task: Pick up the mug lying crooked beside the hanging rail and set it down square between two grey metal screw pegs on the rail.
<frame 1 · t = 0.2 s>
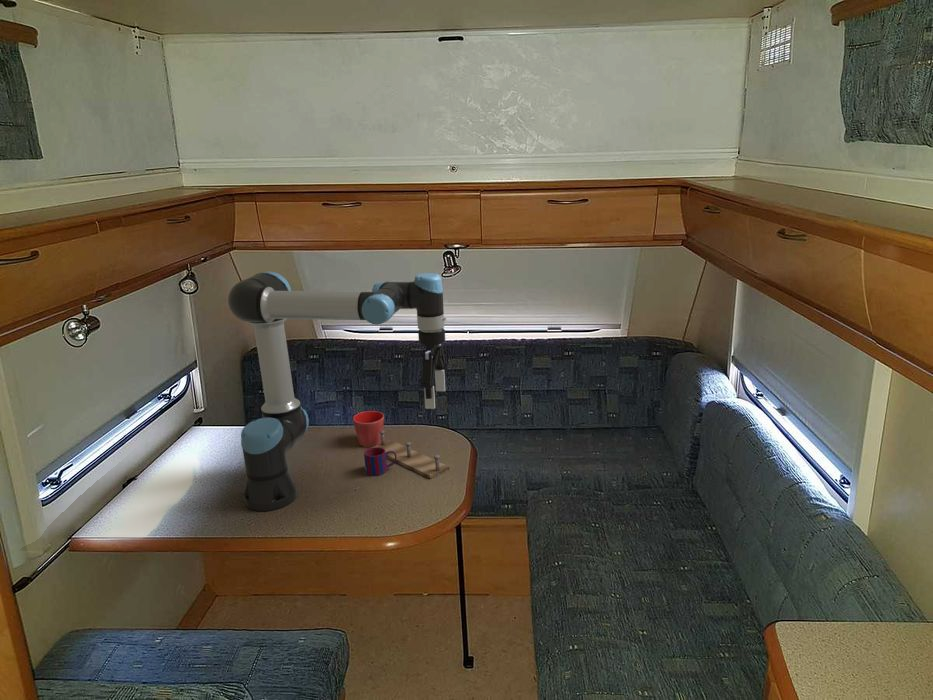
hand: (435, 399, 197), 27 cm above the table, fingers open, 13 cm apart
mug: (381, 471, 215), on the table
flower pot: (370, 442, 235), on the table
rail: (409, 460, 221), on the table
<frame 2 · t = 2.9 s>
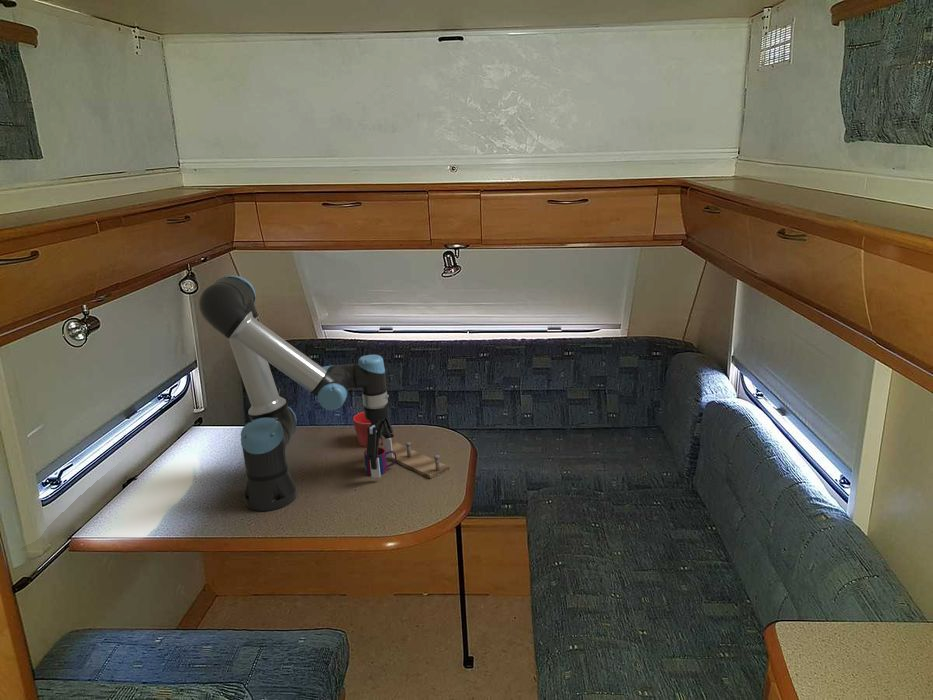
hand: (382, 467, 214), 1 cm above the table, fingers open, 13 cm apart
nothing on the table moved.
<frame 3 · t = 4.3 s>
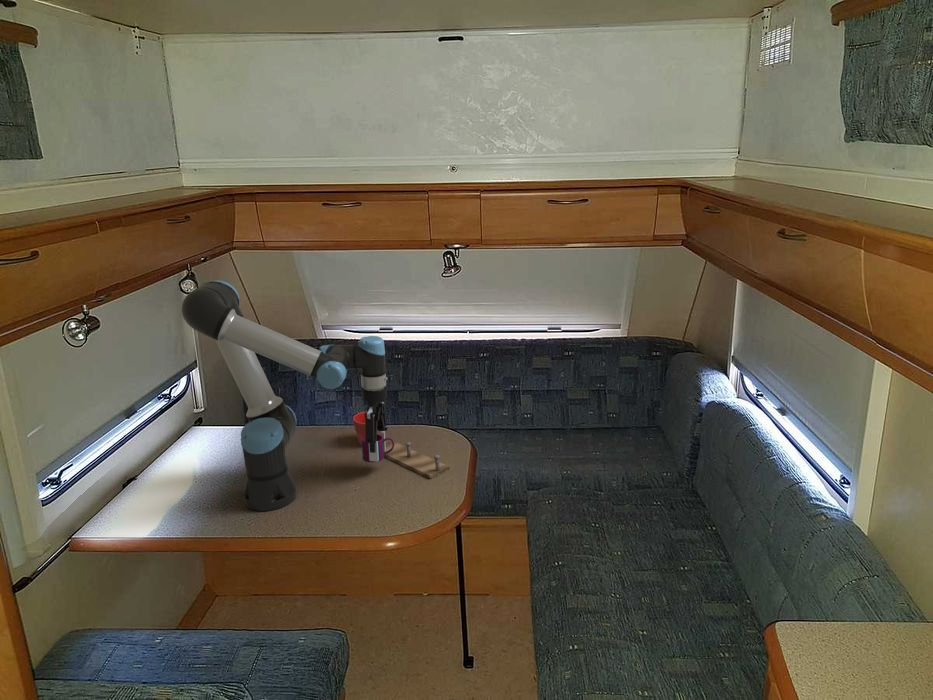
hand: (377, 455, 213), 5 cm above the table, fingers closed on mug, 7 cm apart
mug: (378, 458, 214), point 4 cm above the table, touching gripper
everything else where it was.
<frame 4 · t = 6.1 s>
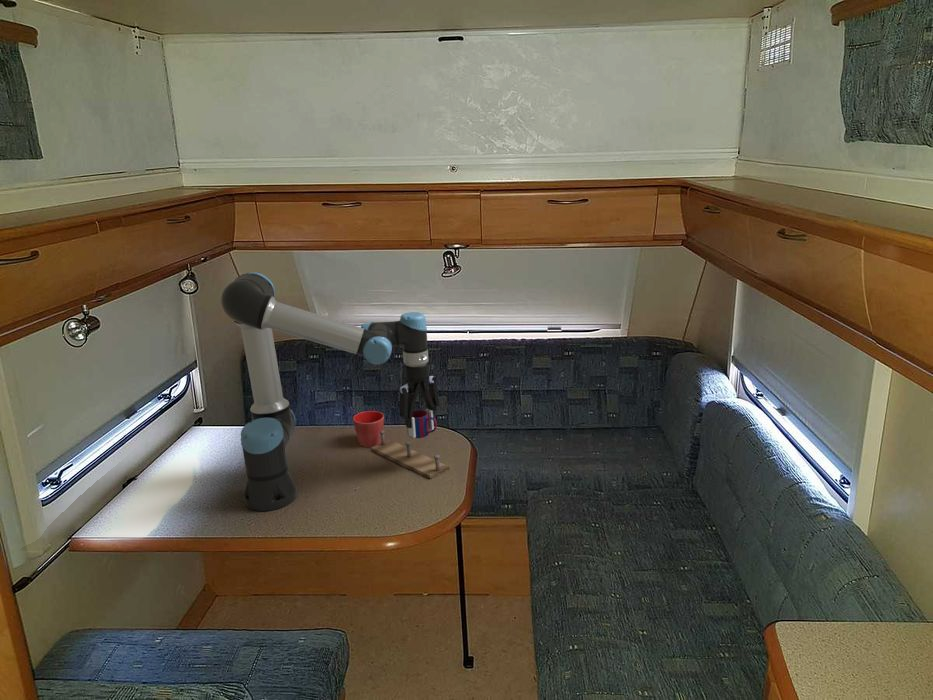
hand: (421, 432, 213), 12 cm above the table, fingers closed on mug, 7 cm apart
mug: (422, 435, 213), point 11 cm above the table, touching gripper
everything else where it was.
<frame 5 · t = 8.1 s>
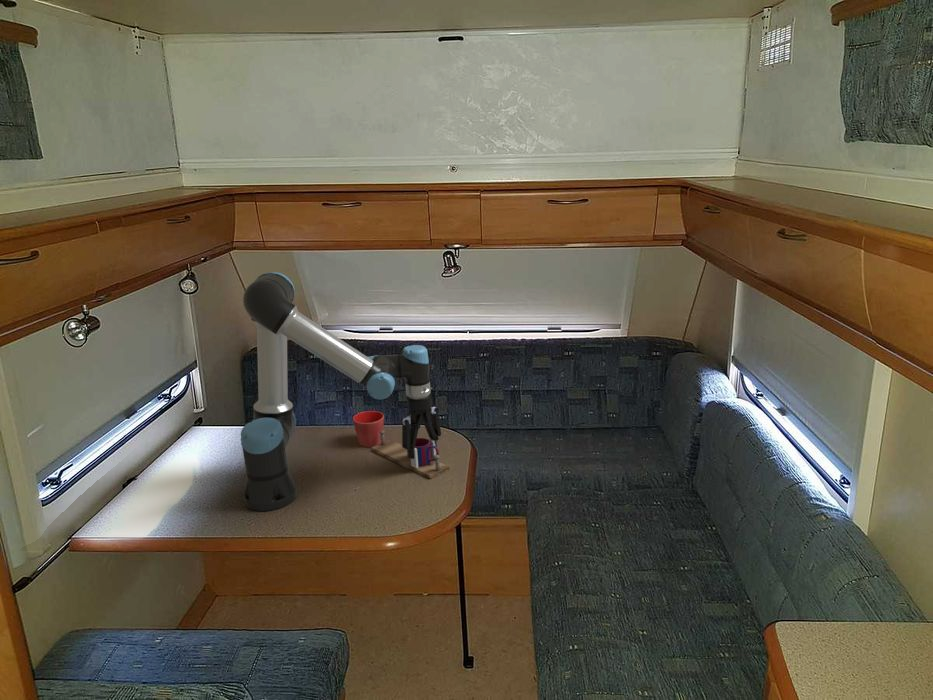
hand: (423, 462, 216), 1 cm above the table, fingers closed on mug, 7 cm apart
mug: (424, 463, 216), point 1 cm above the table, touching gripper, rail
everything else where it was.
when the fingers open (1 cm above the table, at t = 8.2 s): mug stays where it is, resting on rail.
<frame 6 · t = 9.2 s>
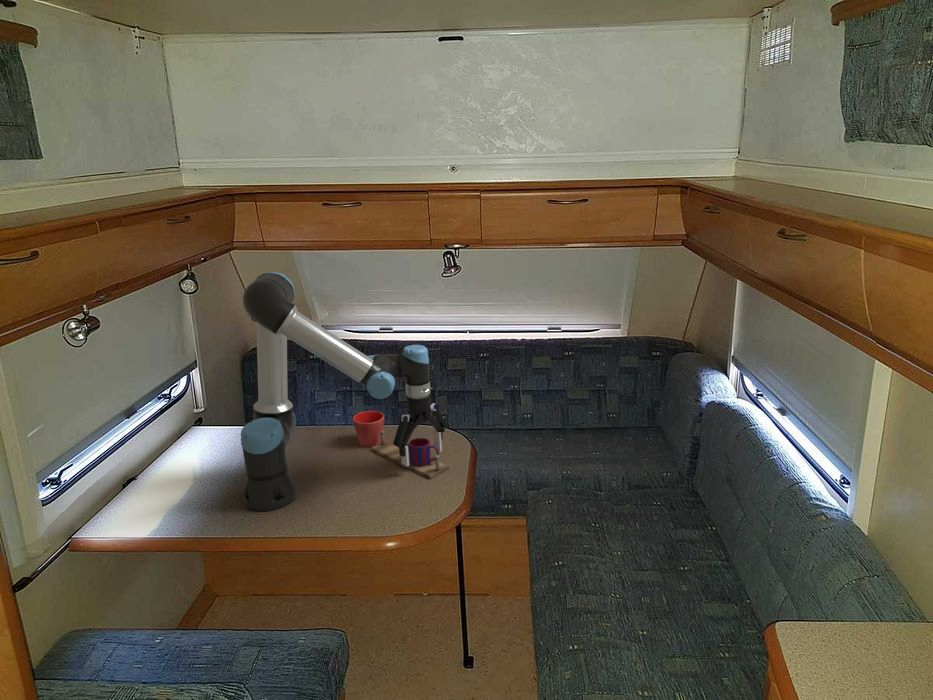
hand: (422, 457, 215), 3 cm above the table, fingers open, 13 cm apart
mug: (424, 463, 216), point 1 cm above the table, touching rail
everything else where it was.
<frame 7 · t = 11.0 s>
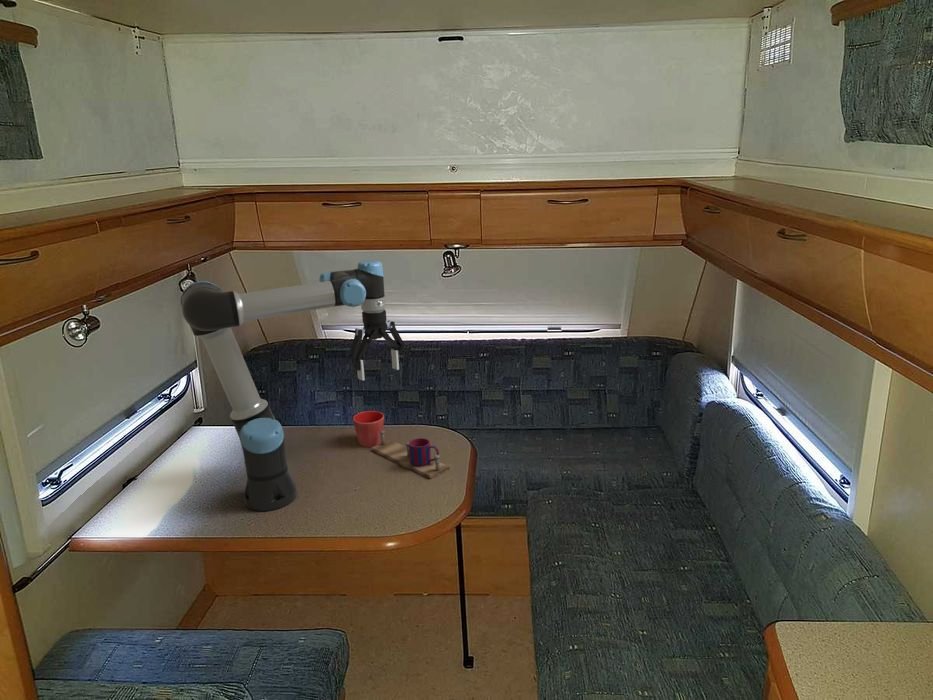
hand: (378, 374, 219), 28 cm above the table, fingers open, 13 cm apart
nothing on the table moved.
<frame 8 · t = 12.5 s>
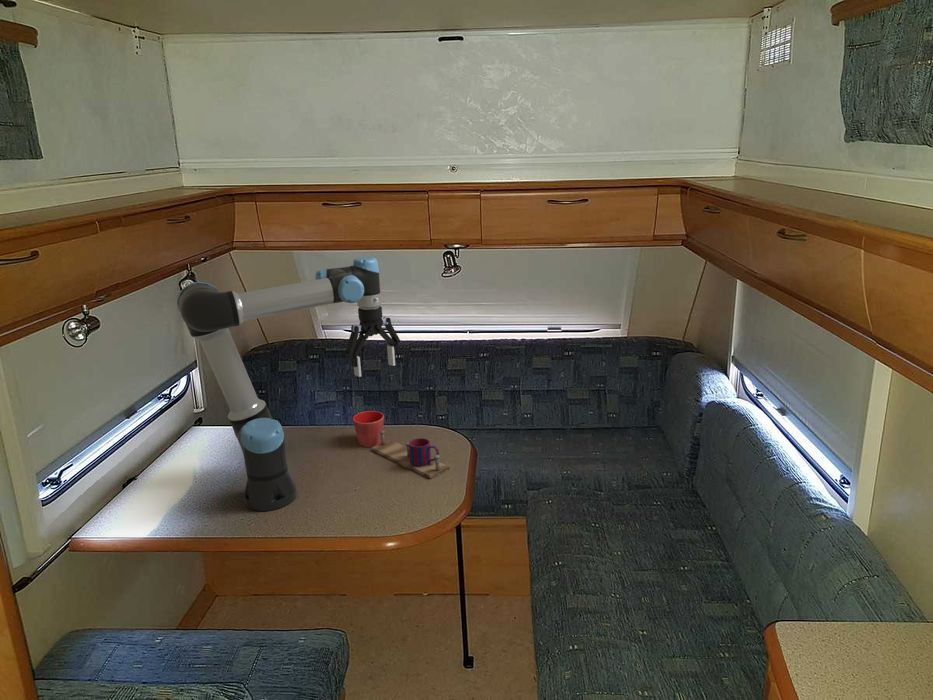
hand: (375, 370, 220), 29 cm above the table, fingers open, 13 cm apart
nothing on the table moved.
at the end: mug 0.6 cm from the target spot, point 1.0 cm above the table; mug tilted 0°; the gripper is holding nothing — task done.
